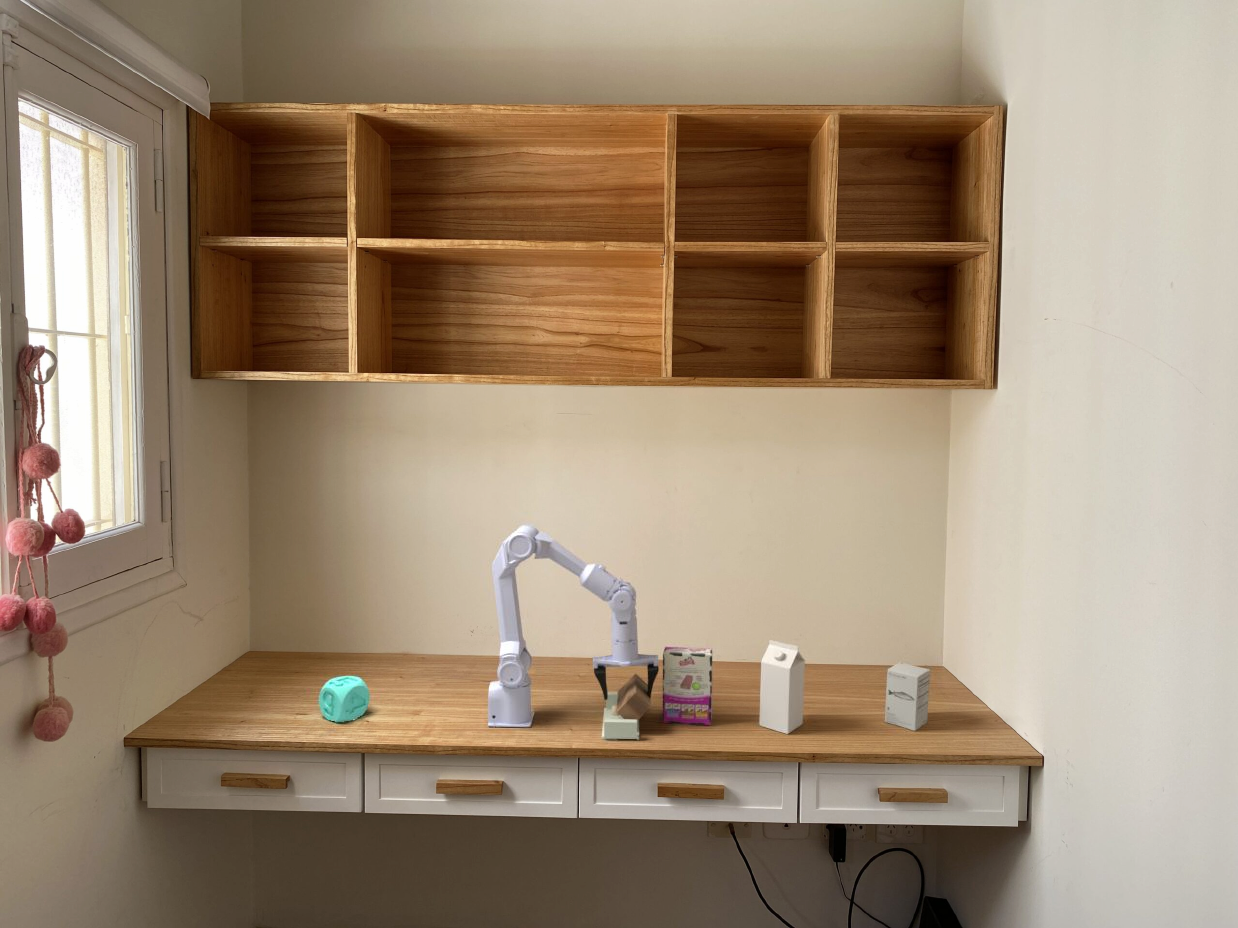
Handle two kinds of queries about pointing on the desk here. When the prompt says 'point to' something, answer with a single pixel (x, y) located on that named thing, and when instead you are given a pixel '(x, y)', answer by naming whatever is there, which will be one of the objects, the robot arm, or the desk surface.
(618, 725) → the peg frame
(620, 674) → the desk surface
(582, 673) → the desk surface
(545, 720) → the desk surface
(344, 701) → the decorative dice
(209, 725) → the desk surface
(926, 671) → the supplement box
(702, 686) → the candy bar box
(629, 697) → the brown rectangular block
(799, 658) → the milk carton
